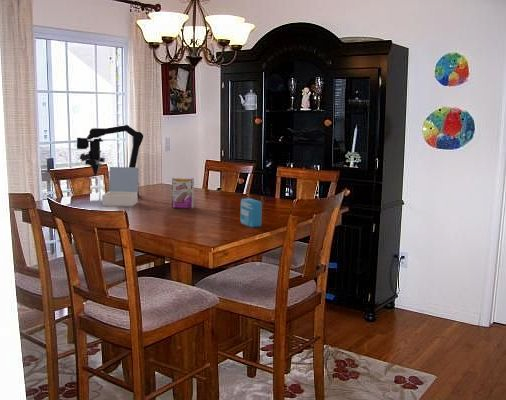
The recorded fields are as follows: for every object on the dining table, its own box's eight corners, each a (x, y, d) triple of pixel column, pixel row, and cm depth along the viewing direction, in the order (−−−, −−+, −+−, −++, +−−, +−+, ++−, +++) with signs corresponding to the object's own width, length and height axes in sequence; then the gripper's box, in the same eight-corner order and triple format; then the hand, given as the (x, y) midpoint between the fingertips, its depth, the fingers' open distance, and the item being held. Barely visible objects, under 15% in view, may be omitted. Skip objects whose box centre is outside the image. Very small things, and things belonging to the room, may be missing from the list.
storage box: (109, 201, 302) (109, 191, 301) (137, 202, 302) (137, 192, 301) (102, 206, 288) (102, 195, 287) (131, 206, 288) (131, 195, 287)
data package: (240, 223, 252) (240, 198, 250) (248, 222, 255) (248, 197, 253) (253, 228, 242) (253, 202, 240) (261, 227, 244) (262, 201, 243)
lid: (109, 191, 301) (109, 191, 302) (137, 192, 301) (138, 192, 302) (109, 166, 301) (110, 167, 302) (138, 167, 301) (138, 167, 302)
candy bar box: (171, 208, 287) (171, 178, 284) (173, 206, 292) (173, 177, 289) (191, 209, 286) (192, 179, 283) (193, 207, 291) (193, 177, 288)
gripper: (86, 147, 323) (87, 173, 325) (76, 149, 304) (76, 176, 307) (104, 148, 323) (105, 173, 325) (95, 150, 304) (96, 177, 307)
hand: (95, 175), depth 316 cm, fingers closed
